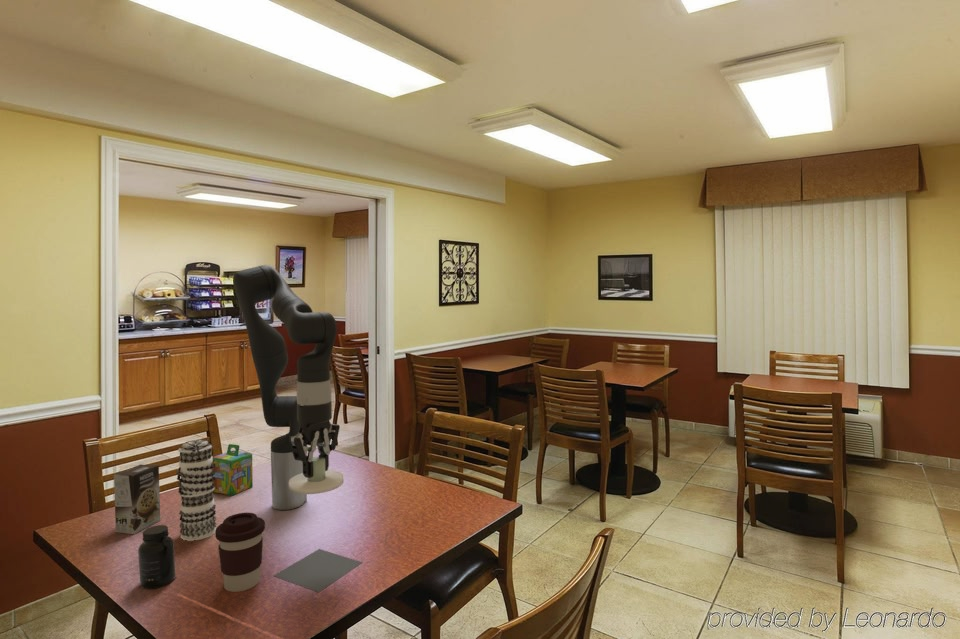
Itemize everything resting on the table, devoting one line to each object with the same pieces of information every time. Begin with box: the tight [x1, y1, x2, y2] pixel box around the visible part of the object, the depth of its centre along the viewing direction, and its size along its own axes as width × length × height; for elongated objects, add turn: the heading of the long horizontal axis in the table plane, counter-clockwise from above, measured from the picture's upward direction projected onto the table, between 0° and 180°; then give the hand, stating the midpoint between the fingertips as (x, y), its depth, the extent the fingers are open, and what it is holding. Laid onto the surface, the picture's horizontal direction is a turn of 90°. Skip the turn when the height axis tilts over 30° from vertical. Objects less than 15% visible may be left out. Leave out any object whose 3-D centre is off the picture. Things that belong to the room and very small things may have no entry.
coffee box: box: [113, 464, 161, 535], centre depth 145 cm, size 9×6×16 cm
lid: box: [289, 456, 345, 495], centre depth 120 cm, size 12×12×6 cm
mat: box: [273, 548, 364, 593], centre depth 121 cm, size 14×14×1 cm
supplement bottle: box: [137, 524, 176, 590], centre depth 117 cm, size 7×7×12 cm
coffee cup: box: [214, 512, 266, 593], centre depth 116 cm, size 10×10×15 cm
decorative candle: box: [176, 439, 217, 542], centre depth 140 cm, size 9×9×25 cm
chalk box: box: [212, 443, 254, 497], centre depth 172 cm, size 9×9×15 cm
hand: (316, 473), depth 120 cm, fingers closed on lid, 4 cm apart
